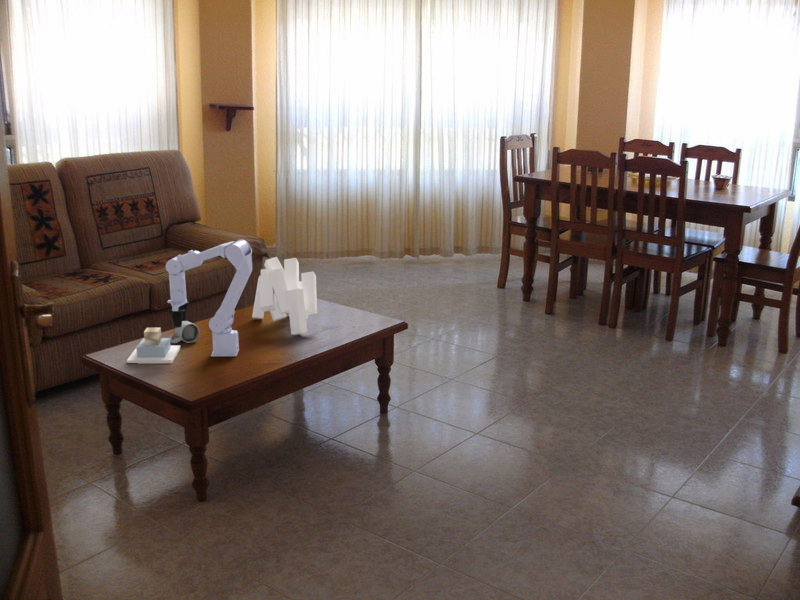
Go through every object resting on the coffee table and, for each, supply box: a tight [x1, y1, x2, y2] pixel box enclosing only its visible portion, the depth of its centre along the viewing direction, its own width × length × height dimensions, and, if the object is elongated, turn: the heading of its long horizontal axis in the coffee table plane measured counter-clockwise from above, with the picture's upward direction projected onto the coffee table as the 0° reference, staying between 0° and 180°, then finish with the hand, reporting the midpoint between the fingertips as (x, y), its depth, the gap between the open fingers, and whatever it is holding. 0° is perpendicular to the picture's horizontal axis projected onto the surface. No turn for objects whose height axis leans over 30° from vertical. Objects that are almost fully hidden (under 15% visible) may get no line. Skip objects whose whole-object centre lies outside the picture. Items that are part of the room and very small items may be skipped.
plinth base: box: [126, 337, 181, 364], centre depth 308 cm, size 16×16×5 cm
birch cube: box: [143, 327, 162, 345], centre depth 307 cm, size 5×5×5 cm
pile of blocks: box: [251, 256, 318, 336], centre depth 346 cm, size 35×30×35 cm
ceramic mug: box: [169, 320, 201, 345], centre depth 324 cm, size 11×8×8 cm
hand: (180, 324), depth 312 cm, fingers open, 7 cm apart
